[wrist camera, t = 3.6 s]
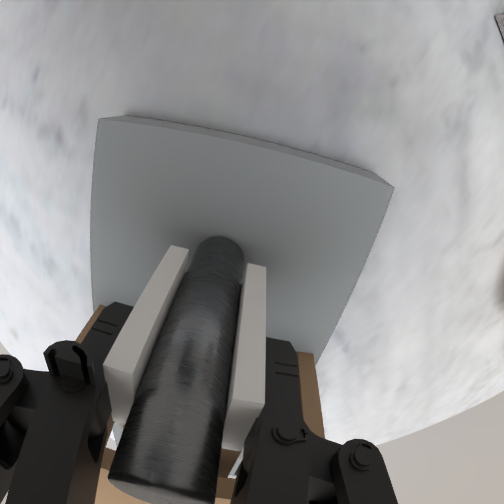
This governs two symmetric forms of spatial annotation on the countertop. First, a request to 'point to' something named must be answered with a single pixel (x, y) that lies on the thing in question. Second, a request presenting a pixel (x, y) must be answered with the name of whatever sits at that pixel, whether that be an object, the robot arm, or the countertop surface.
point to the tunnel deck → (231, 233)
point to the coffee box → (500, 22)
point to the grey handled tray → (185, 387)
